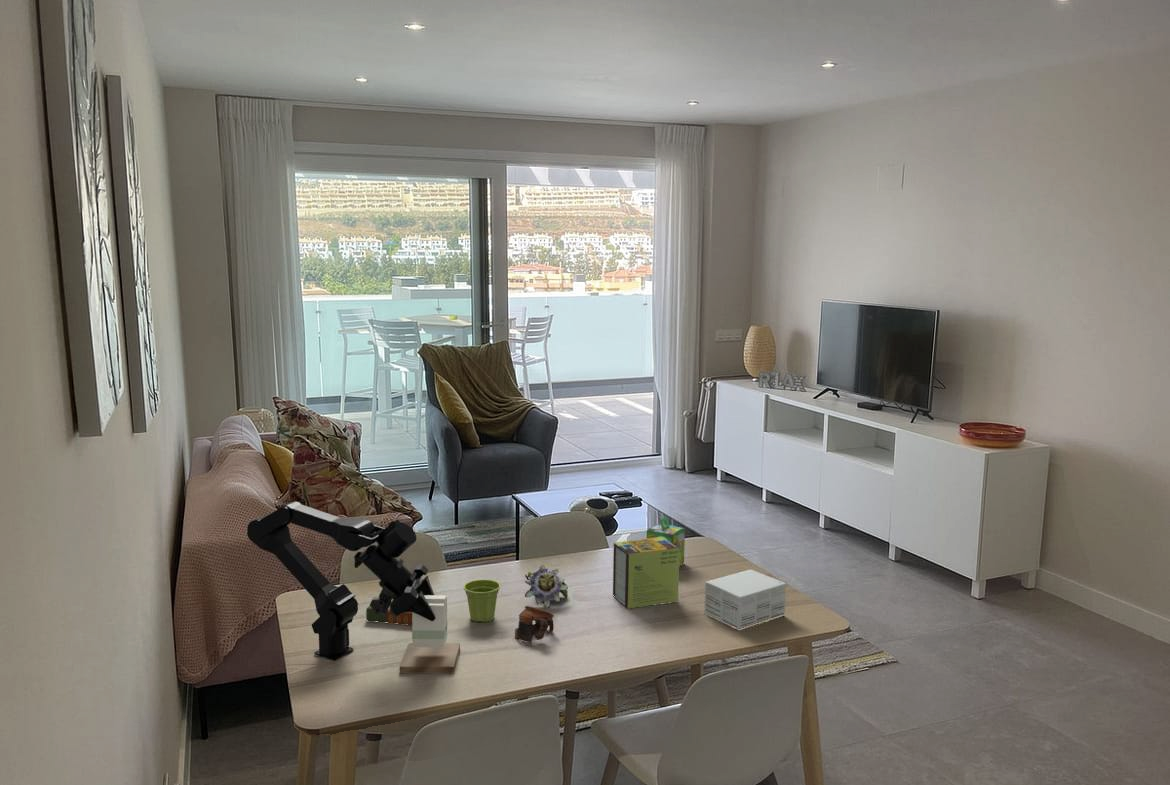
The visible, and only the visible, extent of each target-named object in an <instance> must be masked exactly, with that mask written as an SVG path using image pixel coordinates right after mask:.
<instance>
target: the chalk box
mask: <svg viewBox="0 0 1170 785" xmlns="http://www.w3.org/2000/svg"><path fill="white" fill-rule="evenodd" d="M659 520H660V523H658V524H655V525H653V526H652V527H649V528H648V529H646V539H648V538H656V537H664V538H665V539H667V540H668V541H670V542H672V543H673V544H675V545H676V546H678V547H679V548H680V552H679V567H681V566H682V565H684V564H685V548H686V547H685V546H686V544H685V543H686V540H685V539H686V538H685V537H686V528H685V527H680V526H676V525H673V524H669V519H668V516H667V515H666V516H664V517H662V518H661V519H659ZM664 522H665V524H664ZM683 563H684V564H683ZM681 564H682V565H681ZM680 565H681V566H680Z"/></svg>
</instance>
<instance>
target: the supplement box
mask: <svg viewBox="0 0 1170 785" xmlns="http://www.w3.org/2000/svg"><path fill="white" fill-rule="evenodd" d="M704 585H705V586H704V615H705V614H708V615H710V616H712V617H714V618H717V619H718V620H720V621H723V622H725V623H727V624H729V625H731V626H734V627H736V628H737V629H741V628H744V627H747V626H750V625H753V624H756V623H759V622H762V621H765V620H768V619H771V618H774V617H777V616H780V615H784V614H785V615H786V590H787V587H786V586H787V584H786V583H785V582H784V581H782V580H779V579H776V578H773V577H770V576H768V575H766V574H763V573H761V572H758V571H756V570H753V569H751V568H750V569H746V570H743V571H741V572H736V573H732V574H729V575H725V576H722V577H719V578H714V579H711V580H706V581H705V582H704Z"/></svg>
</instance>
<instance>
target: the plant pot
mask: <svg viewBox="0 0 1170 785" xmlns="http://www.w3.org/2000/svg"><path fill="white" fill-rule="evenodd" d="M500 588H501V584H500V582H498V581H497V580H492V579H474V580H471V581H468V582H466V583H465V584H464V585H463V590H464V591H465V595H466V598H467V604H468V610H469V615H470V616H469V617H470V620H471V621H473V622H476V623H477V622H483V623H486V622H490V621H492V620H493V619H494V618H495V613H496V608H497V607H496V606H497V597H498V594H499V590H500Z"/></svg>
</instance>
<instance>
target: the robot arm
mask: <svg viewBox="0 0 1170 785" xmlns="http://www.w3.org/2000/svg"><path fill="white" fill-rule="evenodd" d="M290 524H294V525H296V526H299V527H301V528H305V529H307V530H311V531H314V532H317V533H319V534H322V535H325V536H328V537H330V538H331V539H333V540H334V541H335V542H336V544H337V545H339V546H340V547H343V548H344V549H346V550H348V551H350V552H356V553H355V555H354V556H353V559H354V565H353V566H354V568H355V569H357V568H359V566H361V565H362V564H363V565H364V566H366V567H367V568H368V570H370V571H371V572H372V574H374V575H375V576H376V577H377V578H378V579H379V582H378V585H379V586H380V587H381V591H380V592H379V595H378V596H374V597H373V598H372V599H371V602H370V603H369V606H371V607H372V610H373V611H375V613H376V614H378V613H383V614H386V612H387V610H388V609H389V606H390V612H391V613H392V614H393V615H394V616H395V617H397V616H398V615H400V614H401V613H404V612H413V613H416V614H418V615H420V616H422V617H424V618H426V619H428V620H430V621H434V620H435V619H436V617H435V615H434V613H433V611H432V609H431V608H430V606H429V604H428V602H427V600H426V598H425V597H424V595H435V593H434V590H433V587H432V585H431V581H430V580H429V576H428V575H427V574H428V573H429V569H428V567H426V566H425V565H424V564H416V565H415V566H414V567H413V568H412V569H411V570H410V569H408V568H407V567H406V566H405V565H404V563H405V561H404V560H403V559H402V558H400V559H397V558H399V557H400V556H402V554H403V553H404V552H405V551H407V550H408V549H409V548H410V547H411V546H413V545H414V544H415V542H416V541H417V535H416V532H415V530H414V529H413V527H412V526H410V525H408V524H406V523H404V522H400V520H399V519H398V518H395V519H394V520H391V522H390V523H388V525H387V527H382V526H378V525H376V524H374V523H373V521H371V520H369V519H365V518H358V517H346V518H345V517H339V516H338V515H334V514H331V513H328V512H325V511H322V510H319V509H316V508H313V507H310V506H307V505H304V504H302V503H301V502H299V501H291V502H287V503H286V504H283V505H281V506H280V507H279V508H277V509H276V510H275V511H273V512H270V513H267V514H265V515H263V516H260V517H258V518H256V519H253V520H251V521H250V522H249V523H248V524H247V529H246V530H247V533H246V535H247V538H248V539H249V541H251V542H252V543H253V545H255V546H256V547H257V548H259V549H260V550H263V551H265V552H268V553H270V554H272V555H274V556H275V557H276V558H277V560H278V561H279V562H280V563H281V564H282V565H283V566H284V567H285V568H286V569H287V571H289V573H290V574H291V575H292V576H293V578H295V579H296V581H298V583H299V584H300V585H301V586H302V588H304V589H305V590H306V592H308V594H309V596H311V598H313V600H314V605H315V609H316V610H315V611H316V613H317V614H318V617H317V618H316V619H315V621H313V622H312V624H311V628H312V630H313V633H314V634H317V635H318V649H317V650H316V651H314V654H313V655H314V656H317V657H320V658H325V659H327V660H330V661H331V660H332V661H336V660H338V659H340V658H342V657H344V656H346V655H348V654H350V653H351V652H353V651H354V647H352V646H350V629H349V624H350V623H352V622H353V620H354V617H356V615H357V613H358V611H359V603H358V600H357V599H356V596H357V595H356V594H354V593H352V591H351V590H350V589H349V588H348V586H347V585H345V584H344V583H342V584H340V585H338V586H336V585H334V584H332V583H331V582H330V581H329V580H328V579H327V578H326V577H325V576H324V574H323V573H322V572H321V571H320V570H319V569H318V568H317V566H315V565H314V563H313V562H312V561H311V560H310V559H309V558H308V557H307V556H306V554H305V553H304V552H303V551H302V550H301V549H300V548H299V547H298V546H297V544H296V543H295V542H294V541H293V540H292V537H291V536H292V535H291V531H290V527H289V525H290ZM375 543H377V544H376V545H375ZM362 548H365V549H364V550H363V551H359V550H361V549H362ZM423 576H425V577H424V578H422V577H423ZM392 599H393V601H392V603H391V600H392ZM390 604H391V605H390Z"/></svg>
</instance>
